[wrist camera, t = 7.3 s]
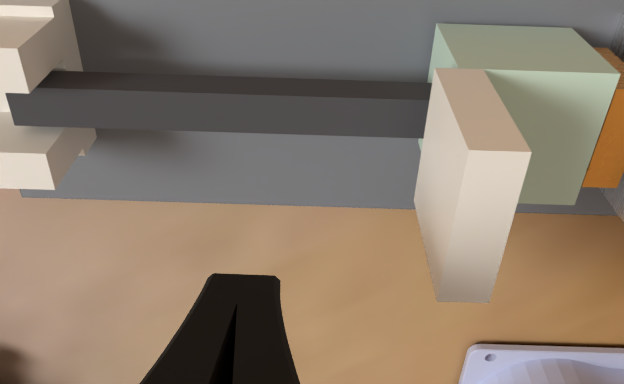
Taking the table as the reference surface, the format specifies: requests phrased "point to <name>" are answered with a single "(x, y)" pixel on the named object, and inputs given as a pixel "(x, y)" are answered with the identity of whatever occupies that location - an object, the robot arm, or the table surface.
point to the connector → (611, 133)
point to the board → (245, 63)
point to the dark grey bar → (224, 104)
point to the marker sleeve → (502, 141)
